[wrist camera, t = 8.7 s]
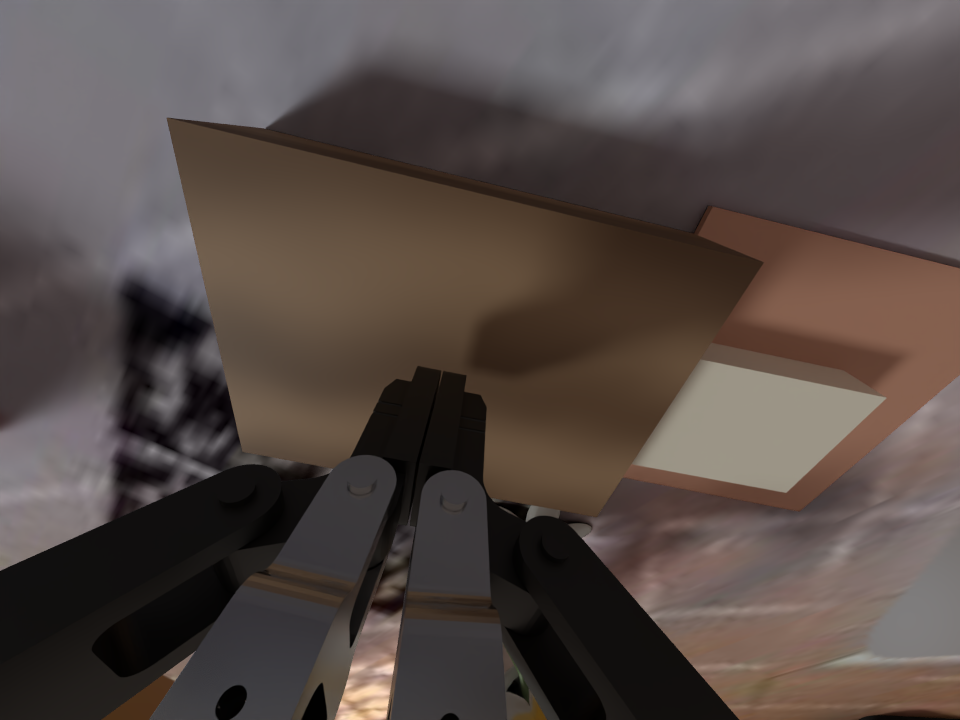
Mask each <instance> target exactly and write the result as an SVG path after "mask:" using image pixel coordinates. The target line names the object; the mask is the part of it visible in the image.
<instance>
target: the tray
mask: <svg viewBox="0 0 960 720" xmlns="http://www.w3.org/2000/svg"><path fill="white" fill-rule="evenodd" d="M859 720H960V719H947V718H925V717H904V716H882V715H875V716H867V717H863V718H861V719H859Z"/></svg>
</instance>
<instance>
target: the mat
mask: <svg viewBox="0 0 960 720" xmlns="http://www.w3.org/2000/svg"><path fill="white" fill-rule="evenodd" d="M694 234H696V235H698V236H701V237H703V238H706V239H708V240H711V241H713V242H716V243H718V244H720V245H723V246H725V247H728V248H730V249H733V250H735V251H738V252H740V253H742V254H745V255H747V256H750V257H752V258H755V259H757V260H760V261H762V262H764V263H763V265H762V266H761V268H760V269H759V271H758V272H757V274H756V275H755V277H754V278H753V280H752V282H751V283H750V285H749V286H748V288H747V289H746V291H745V292H744V294H743V295H742V297H741V298H740V300H739V301H738V303H737V304H736V306H735V307H734V309H733V310H732V312H731V313H730V315H729V316H728V318H727V320H726V321H725V323H724V324H723V326H722V327H721V329H720V330H719V332H718V333H717V335H716V336H715V338H714V339H713V341H712V342H711V343H715V344H720V345H725V346H730V347H734V348H739V349H744V350H749V351H753V352H758V353H763V354H768V355H773V356H777V357H782V358H787V359H792V360H797V361H801V362H806V363H811V364H816V365H820V366H825V367H830V368H835V369H840V370H844V371H845V372H847V373H848V374H850V375H852V376H853V377H855V378H856V379H858V380H859V381H861V382H863V383H864V384H866V385H867V386H869V387H871V388H872V389H874V390H875V391H877V392H879V393H880V394H882V395H883V396H885V397H886V399H885V400H884V401H883V402H882V403H881V404H880V405H879V406H878V407H877V408H876V409H874V410H873V411H872V412H871V413H870V414H869V415H868V416H867V417H866V418H865V419H864V420H863V421H862V422H861V423H860V424H859V425H858V426H856V427H855V428H854V429H853V430H852V431H851V432H850V433H849V434H848V435H847V436H846V437H845V438H844V439H843V440H842V441H841V442H840V443H838V444H837V445H836V446H835V447H834V448H833V449H832V450H831V451H830V452H829V453H828V454H827V455H826V456H825V457H824V458H823V459H822V460H820V461H819V462H818V463H817V464H816V465H815V466H814V467H813V468H812V469H811V470H810V471H809V472H808V473H807V474H806V475H805V476H803V477H802V478H801V479H800V480H799V481H798V482H797V483H796V484H795V485H794V486H793V487H792V488H791V489H790V490H789V491H788V492H787V493H784V492H779V491H773V490H768V489H763V488H757V487H752V486H746V485H741V484H736V483H730V482H725V481H719V480H714V479H709V478H703V477H698V476H692V475H687V474H682V473H676V472H671V471H666V470H660V469H655V468H649V467H644V466H639V465H633V464H631V465H630V467H629V469H628V470H627V472H626V473H625V475H624V476H623V478H628V479H633V480H639V481H644V482H649V483H654V484H659V485H664V486H670V487H675V488H680V489H685V490H690V491H695V492H701V493H706V494H711V495H716V496H721V497H726V498H732V499H737V500H742V501H747V502H752V503H757V504H763V505H768V506H773V507H778V508H783V509H788V510H794V511H801V510H802V509H803V508H804V507H805V506H807V505H808V504H809V503H810V502H811V501H812V500H814V499H815V498H816V497H817V496H818V495H819V494H821V493H822V492H823V491H824V490H825V489H826V488H828V487H829V486H830V485H831V484H832V483H833V482H835V481H836V480H837V479H838V478H839V477H840V476H842V475H843V474H844V473H845V472H846V471H847V470H849V469H850V468H851V467H852V466H853V465H855V464H856V463H857V462H858V461H859V460H860V459H862V458H863V457H864V456H865V455H866V454H867V453H869V452H870V451H871V450H872V449H873V448H874V447H876V446H877V445H878V444H879V443H880V442H881V441H883V440H884V439H885V438H886V437H887V436H888V435H890V434H891V433H892V432H893V431H894V430H895V429H897V428H898V427H899V426H900V425H901V424H903V423H904V422H905V421H906V420H907V419H908V418H910V417H911V416H912V415H913V414H914V413H915V412H917V411H918V410H919V409H920V408H921V407H922V406H924V405H925V404H926V403H927V402H928V401H929V400H931V399H932V398H933V397H934V396H935V395H936V394H938V393H939V392H940V391H941V390H942V389H943V388H945V387H946V386H947V385H948V384H949V383H951V382H952V381H953V380H954V379H955V378H956V377H958V376H959V375H960V268H956V267H952V266H948V265H944V264H940V263H936V262H932V261H928V260H924V259H920V258H916V257H912V256H908V255H904V254H900V253H896V252H892V251H888V250H884V249H881V248H877V247H873V246H869V245H865V244H861V243H857V242H853V241H849V240H845V239H841V238H837V237H833V236H829V235H825V234H821V233H817V232H813V231H809V230H805V229H801V228H797V227H793V226H789V225H785V224H781V223H777V222H773V221H769V220H765V219H761V218H757V217H753V216H749V215H745V214H741V213H737V212H733V211H729V210H725V209H721V208H717V207H713V206H708V208H707V210H706V211H705V213H704V215H703V217H702V219H701V221H700V223H699V225H698V227H697V229H696V231H695V232H694Z"/></svg>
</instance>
